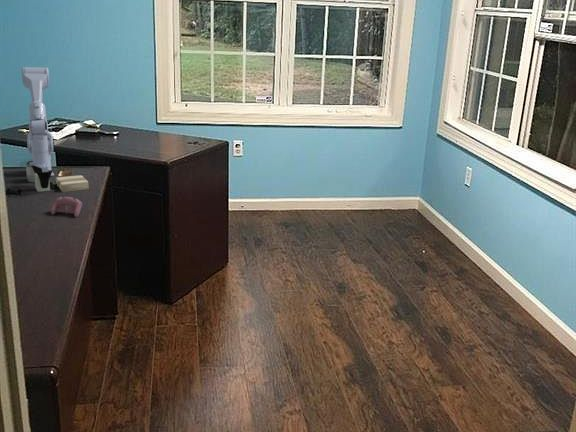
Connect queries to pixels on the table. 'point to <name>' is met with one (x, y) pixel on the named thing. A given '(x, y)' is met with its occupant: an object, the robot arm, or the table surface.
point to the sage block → (38, 185)
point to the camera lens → (30, 172)
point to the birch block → (72, 183)
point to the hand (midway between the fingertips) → (42, 185)
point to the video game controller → (63, 201)
